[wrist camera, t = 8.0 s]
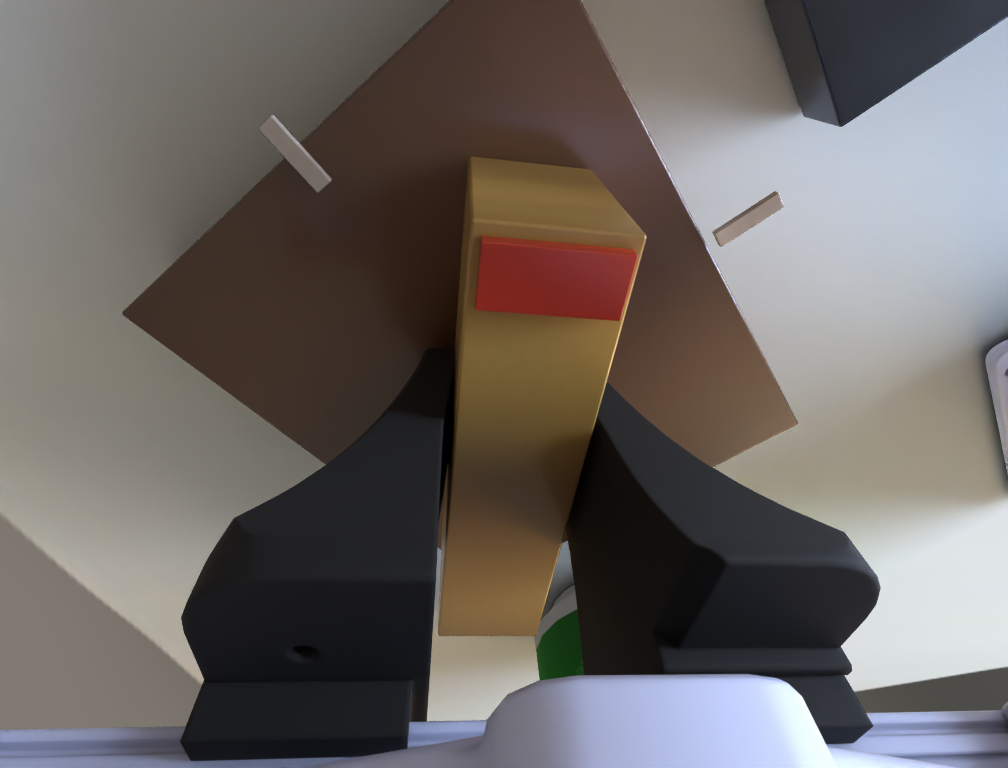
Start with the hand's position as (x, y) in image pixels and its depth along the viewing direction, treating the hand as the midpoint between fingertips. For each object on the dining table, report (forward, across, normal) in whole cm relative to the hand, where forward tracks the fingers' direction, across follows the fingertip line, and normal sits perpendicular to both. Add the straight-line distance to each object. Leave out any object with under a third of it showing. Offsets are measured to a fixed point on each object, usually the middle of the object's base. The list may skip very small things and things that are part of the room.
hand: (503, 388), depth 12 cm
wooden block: (0, 0, 0) cm, 0 cm away
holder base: (+3, 0, 0) cm, 3 cm away
